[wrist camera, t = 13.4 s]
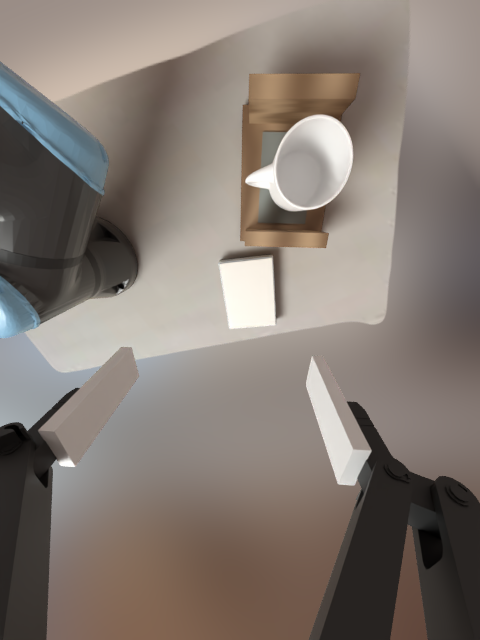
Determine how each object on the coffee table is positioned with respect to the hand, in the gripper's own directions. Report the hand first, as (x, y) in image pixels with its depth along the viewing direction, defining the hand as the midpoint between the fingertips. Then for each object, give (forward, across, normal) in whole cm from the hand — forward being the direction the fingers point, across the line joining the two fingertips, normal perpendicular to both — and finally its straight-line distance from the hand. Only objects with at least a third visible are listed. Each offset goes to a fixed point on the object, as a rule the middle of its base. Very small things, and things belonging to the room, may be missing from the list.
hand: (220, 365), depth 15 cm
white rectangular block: (+29, +2, -4) cm, 29 cm away
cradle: (+29, +7, +15) cm, 33 cm away
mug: (+27, +7, +15) cm, 32 cm away
